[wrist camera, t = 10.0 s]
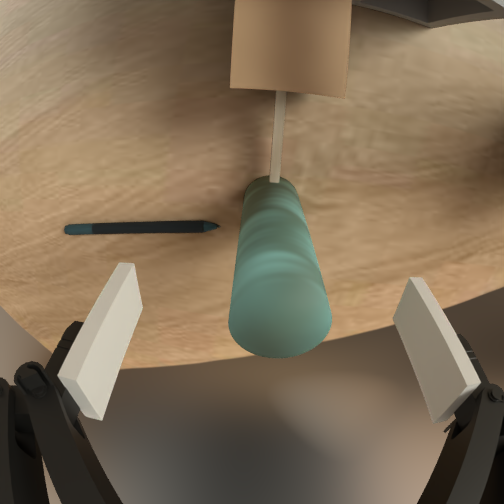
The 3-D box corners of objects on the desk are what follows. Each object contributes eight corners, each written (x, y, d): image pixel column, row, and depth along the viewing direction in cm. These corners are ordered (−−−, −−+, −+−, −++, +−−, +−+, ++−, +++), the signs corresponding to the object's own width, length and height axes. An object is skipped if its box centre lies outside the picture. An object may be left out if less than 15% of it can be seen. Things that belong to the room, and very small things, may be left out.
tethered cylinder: (233, 223, 26) (211, 354, 14) (243, 13, 17) (220, -72, 5) (304, 228, 26) (336, 358, 14) (325, 21, 17) (406, -43, 5)
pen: (221, 228, 27) (220, 235, 26) (70, 231, 27) (64, 237, 26) (220, 217, 26) (219, 223, 25) (67, 222, 27) (61, 227, 26)
